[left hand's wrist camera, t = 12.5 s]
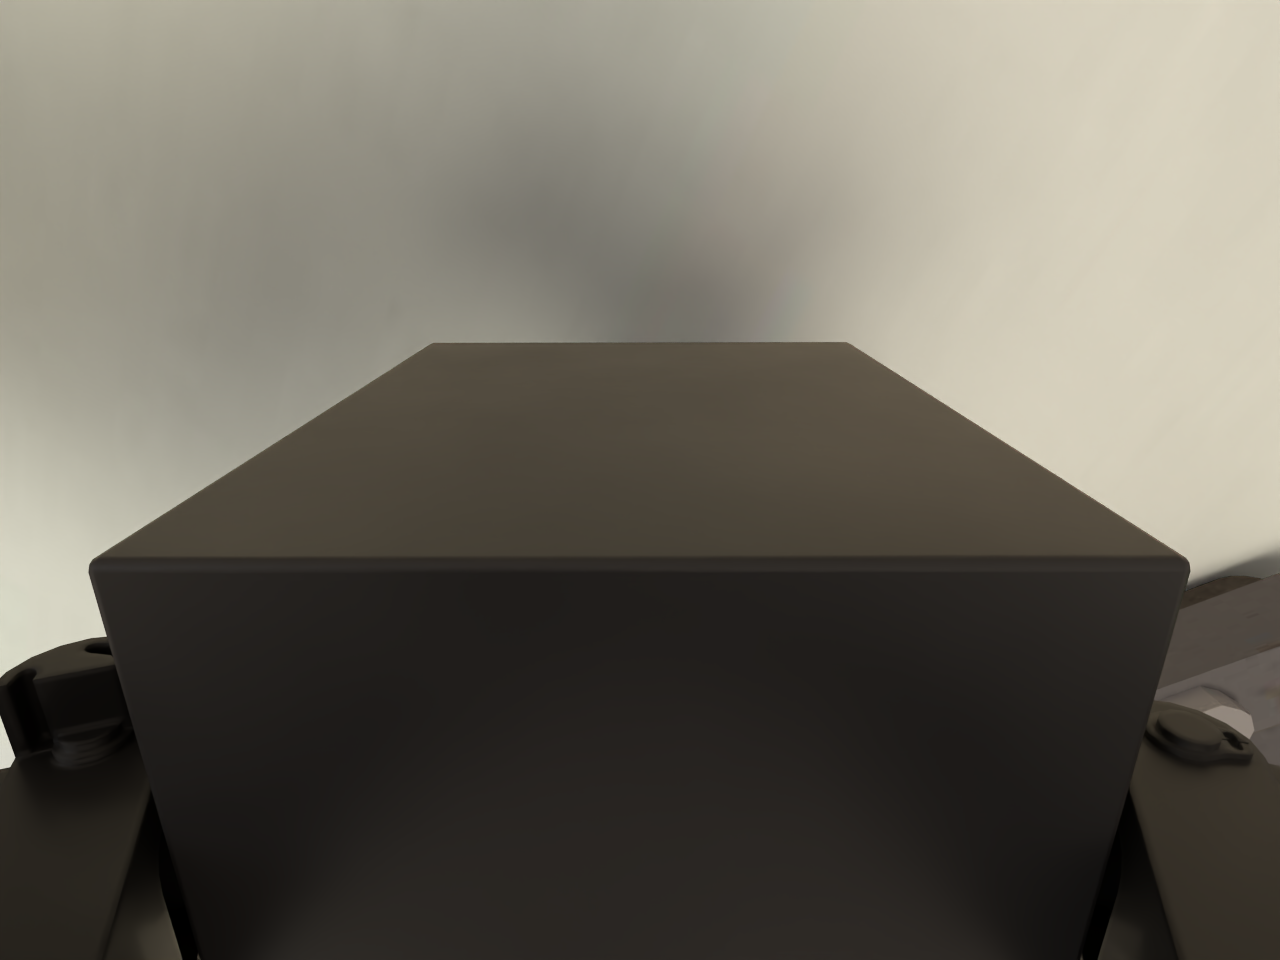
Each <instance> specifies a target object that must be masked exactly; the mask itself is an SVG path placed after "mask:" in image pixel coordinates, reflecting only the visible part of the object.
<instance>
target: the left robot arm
mask: <svg viewBox="0 0 1280 960" xmlns="http://www.w3.org/2000/svg"><path fill="white" fill-rule="evenodd" d="M0 716H1V719H2V722H3V724H4V727H5V730H6V733H7V735H8V738H9V741H10V744H11V746H12V749H13V752H14V755H15V757H16V758H15V760H14V762H13V763H12V765H11V767H10V768H5V769H0V960H200V957H199V954H198V950H197V947H196V943H195V940H194V936H193V933H192V929H191V926H190V922H189V919H188V916H187V912H186V909H185V905H184V902H183V898H182V895H181V891H180V888H179V884H178V881H177V877H176V874H175V870H174V867H173V864H172V860H171V857H170V853H169V850H168V846H167V843H166V839H165V836H164V832H163V829H162V825H161V822H160V818H159V815H158V812H157V808H156V805H155V801H154V798H153V794H152V791H151V787H150V784H149V780H148V777H147V773H146V770H145V766H144V763H143V759H142V756H141V753H140V749H139V746H138V742H137V739H136V735H135V732H134V728H133V725H132V721H131V718H130V714H129V711H128V707H127V704H126V701H125V697H124V694H123V690H122V687H121V683H120V680H119V676H118V673H117V669H116V666H115V662H114V659H113V655H112V652H111V649H110V645H109V642H108V638H107V637H100V638H90V639H86V640H82V641H78V642H74V643H70V644H66V645H62V646H59V647H57V648H54V649H52V650H49V651H47V652H44V653H41V654H39V655H36V656H34V657H31V658H30V659H28V660H26V661H25V662H23V663H21V664H19V665H18V666H16V667H14V668H13V669H11V670H9V671H8V672H6V673H5V674H4V675H3V676H2V677H1V678H0ZM1080 960H1280V766H1278V765H1273V764H1269V763H1268V762H1267V760H1266V758H1265V757H1264V755H1263V754H1262V753H1261V752H1260V751H1259V750H1258V748H1257V747H1256V746H1255V745H1254V744H1253V743H1252V741H1251V740H1250V739H1248V738H1247V737H1246V736H1244V735H1243V734H1241V733H1240V732H1238V731H1237V730H1235V729H1234V728H1233V727H1231V726H1230V725H1228V724H1227V723H1225V722H1223V721H1220V720H1218V719H1216V718H1214V717H1212V716H1210V715H1207V714H1205V713H1203V712H1201V711H1199V710H1195V709H1192V708H1188V707H1185V706H1182V705H1178V704H1175V703H1171V702H1164V701H1155V700H1154V701H1153V705H1152V708H1151V712H1150V715H1149V719H1148V722H1147V726H1146V729H1145V733H1144V736H1143V740H1142V743H1141V747H1140V750H1139V754H1138V757H1137V761H1136V764H1135V768H1134V772H1133V775H1132V779H1131V782H1130V786H1129V789H1128V793H1127V796H1126V800H1125V803H1124V807H1123V810H1122V814H1121V817H1120V821H1119V824H1118V828H1117V831H1116V835H1115V839H1114V842H1113V846H1112V849H1111V853H1110V856H1109V860H1108V863H1107V867H1106V870H1105V874H1104V877H1103V881H1102V884H1101V888H1100V891H1099V895H1098V898H1097V902H1096V906H1095V909H1094V913H1093V916H1092V920H1091V923H1090V927H1089V930H1088V934H1087V937H1086V941H1085V944H1084V948H1083V951H1082V955H1081V958H1080Z"/></svg>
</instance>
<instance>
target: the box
mask: <svg viewBox="0 0 1280 960" xmlns="http://www.w3.org/2000/svg"><path fill="white" fill-rule="evenodd" d="M1189 574H1190V564H1189V562H1188V560H1187V559H1186V558H1185V557H1184V556H1182V555H1181V554H1179V553H1177V552H1176V551H1174V550H1173V549H1171V548H1170V547H1168V546H1166V545H1165V544H1163V543H1162V542H1160V541H1159V540H1157V539H1155V538H1154V537H1152V536H1151V535H1149V534H1148V533H1146V532H1144V531H1143V530H1141V529H1140V528H1138V527H1137V526H1135V525H1133V524H1132V523H1130V522H1129V521H1127V520H1126V519H1124V518H1122V517H1121V516H1119V515H1118V514H1116V513H1115V512H1113V511H1112V510H1110V509H1108V508H1107V507H1105V506H1104V505H1102V504H1101V503H1099V502H1097V501H1096V500H1094V499H1093V498H1091V497H1090V496H1088V495H1086V494H1085V493H1083V492H1082V491H1080V490H1079V489H1077V488H1075V487H1074V486H1072V485H1071V484H1069V483H1068V482H1066V481H1064V480H1063V479H1061V478H1060V477H1058V476H1057V475H1055V474H1053V473H1052V472H1050V471H1049V470H1047V469H1046V468H1044V467H1042V466H1041V465H1039V464H1038V463H1036V462H1035V461H1033V460H1031V459H1030V458H1028V457H1027V456H1025V455H1024V454H1022V453H1020V452H1019V451H1017V450H1016V449H1014V448H1013V447H1011V446H1009V445H1008V444H1006V443H1005V442H1003V441H1002V440H1000V439H999V438H997V437H995V436H994V435H992V434H991V433H989V432H988V431H986V430H984V429H983V428H981V427H980V426H978V425H977V424H975V423H973V422H972V421H970V420H969V419H967V418H966V417H964V416H962V415H961V414H959V413H958V412H956V411H955V410H953V409H951V408H950V407H948V406H947V405H945V404H944V403H942V402H940V401H939V400H937V399H936V398H934V397H933V396H931V395H929V394H928V393H926V392H925V391H923V390H922V389H920V388H918V387H917V386H915V385H914V384H912V383H911V382H909V381H907V380H906V379H904V378H903V377H901V376H900V375H898V374H896V373H895V372H893V371H892V370H890V369H889V368H887V367H885V366H884V365H882V364H881V363H879V362H878V361H876V360H875V359H873V358H871V357H870V356H868V355H867V354H865V353H864V352H862V351H860V350H859V349H857V348H856V347H854V346H853V345H851V344H849V343H847V342H729V343H433V344H430V345H429V346H427V347H425V348H424V349H422V350H421V351H419V352H418V353H416V354H415V355H413V356H411V357H410V358H408V359H407V360H405V361H404V362H402V363H400V364H399V365H397V366H396V367H394V368H393V369H391V370H389V371H388V372H386V373H385V374H383V375H382V376H380V377H378V378H377V379H375V380H374V381H372V382H371V383H369V384H367V385H366V386H364V387H363V388H361V389H360V390H358V391H356V392H355V393H353V394H352V395H350V396H349V397H347V398H345V399H344V400H342V401H341V402H339V403H338V404H336V405H334V406H333V407H331V408H330V409H328V410H327V411H325V412H323V413H322V414H320V415H319V416H317V417H316V418H314V419H312V420H311V421H309V422H308V423H306V424H305V425H303V426H301V427H300V428H298V429H297V430H295V431H294V432H292V433H291V434H289V435H287V436H286V437H284V438H283V439H281V440H280V441H278V442H276V443H275V444H273V445H272V446H270V447H269V448H267V449H265V450H264V451H262V452H261V453H259V454H258V455H256V456H254V457H253V458H251V459H250V460H248V461H247V462H245V463H243V464H242V465H240V466H239V467H237V468H236V469H234V470H232V471H231V472H229V473H228V474H226V475H225V476H223V477H221V478H220V479H218V480H217V481H215V482H214V483H212V484H210V485H209V486H207V487H206V488H204V489H203V490H201V491H199V492H198V493H196V494H195V495H193V496H192V497H190V498H188V499H187V500H185V501H184V502H182V503H181V504H179V505H177V506H176V507H174V508H173V509H171V510H170V511H168V512H167V513H165V514H163V515H162V516H160V517H159V518H157V519H156V520H154V521H152V522H151V523H149V524H148V525H146V526H145V527H143V528H141V529H140V530H138V531H137V532H135V533H134V534H132V535H130V536H129V537H127V538H126V539H124V540H123V541H121V542H119V543H118V544H116V545H115V546H113V547H112V548H110V549H108V550H107V551H105V552H104V553H102V554H101V555H99V556H97V557H96V558H94V559H93V560H92V561H91V563H90V565H89V576H90V579H91V583H92V586H93V590H94V593H95V597H96V600H97V603H98V607H99V610H100V614H101V617H102V621H103V624H104V628H105V631H106V635H107V638H108V642H109V645H110V649H111V652H112V655H113V659H114V662H115V666H116V669H117V673H118V676H119V680H120V683H121V687H122V690H123V694H124V697H125V701H126V704H127V707H128V711H129V714H130V718H131V721H132V725H133V728H134V732H135V735H136V739H137V742H138V746H139V749H140V753H141V756H142V759H143V763H144V766H145V770H146V773H147V777H148V780H149V784H150V787H151V791H152V794H153V798H154V801H155V805H156V808H157V812H158V815H159V818H160V822H161V825H162V829H163V832H164V836H165V839H166V843H167V846H168V850H169V853H170V857H171V860H172V864H173V867H174V870H175V874H176V877H177V881H178V884H179V888H180V891H181V895H182V898H183V902H184V905H185V909H186V912H187V916H188V919H189V922H190V926H191V929H192V933H193V936H194V940H195V943H196V947H197V950H198V954H199V957H200V960H1080V958H1081V955H1082V951H1083V948H1084V944H1085V941H1086V937H1087V934H1088V930H1089V927H1090V923H1091V920H1092V916H1093V913H1094V909H1095V906H1096V902H1097V898H1098V895H1099V891H1100V888H1101V884H1102V881H1103V877H1104V874H1105V870H1106V867H1107V863H1108V860H1109V856H1110V853H1111V849H1112V846H1113V842H1114V839H1115V835H1116V831H1117V828H1118V824H1119V821H1120V817H1121V814H1122V810H1123V807H1124V803H1125V800H1126V796H1127V793H1128V789H1129V786H1130V782H1131V779H1132V775H1133V772H1134V768H1135V764H1136V761H1137V757H1138V754H1139V750H1140V747H1141V743H1142V740H1143V736H1144V733H1145V729H1146V726H1147V722H1148V719H1149V715H1150V712H1151V708H1152V705H1153V701H1154V697H1155V694H1156V690H1157V687H1158V683H1159V680H1160V676H1161V673H1162V669H1163V666H1164V662H1165V659H1166V655H1167V652H1168V648H1169V645H1170V641H1171V638H1172V634H1173V630H1174V627H1175V623H1176V620H1177V616H1178V613H1179V609H1180V606H1181V602H1182V599H1183V595H1184V592H1185V588H1186V585H1187V581H1188V578H1189Z"/></svg>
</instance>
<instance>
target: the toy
mask: <svg viewBox="0 0 1280 960" xmlns="http://www.w3.org/2000/svg"><path fill="white" fill-rule="evenodd" d="M1154 700H1155V701H1164V702H1171V703H1175V704H1178V705H1182V706H1185V707H1188V708H1192V709H1195V710H1199V711H1201V712H1203V713H1205V714H1207V715H1210V716H1212V717H1214V718H1216V719H1218V720H1220V721H1223V722H1225V723H1227V724H1228V725H1230V726H1231V727H1233V728H1234V729H1235V730H1237V731H1238V732H1240V733H1241V734H1243V735H1244V736H1246V737H1247V738H1248V739H1250V740H1251V741H1252V743H1253V744H1254V745H1255V746H1256V747H1257V748H1258V750H1259V751H1260V752H1261V753H1262V754H1263V755H1264V757H1265V758H1266V760H1267V762H1268V763H1269V764H1273V765H1278V766H1280V574H1279V573H1278V574H1276V575H1273V576H1270V577H1267V578H1265V579H1260V578H1254V577H1248V576H1229V577H1224V578H1220V579H1217V580H1214V581H1212V582H1209V583H1206V584H1204V585H1201V586H1198V587H1196V588H1193V589H1190V590H1188V591H1185V592H1184V595H1183V599H1182V602H1181V606H1180V609H1179V613H1178V616H1177V620H1176V623H1175V627H1174V630H1173V634H1172V638H1171V641H1170V645H1169V648H1168V652H1167V655H1166V659H1165V662H1164V666H1163V669H1162V673H1161V676H1160V680H1159V683H1158V687H1157V690H1156V694H1155V697H1154Z"/></svg>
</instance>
